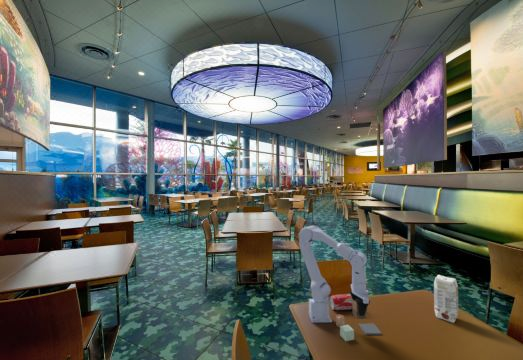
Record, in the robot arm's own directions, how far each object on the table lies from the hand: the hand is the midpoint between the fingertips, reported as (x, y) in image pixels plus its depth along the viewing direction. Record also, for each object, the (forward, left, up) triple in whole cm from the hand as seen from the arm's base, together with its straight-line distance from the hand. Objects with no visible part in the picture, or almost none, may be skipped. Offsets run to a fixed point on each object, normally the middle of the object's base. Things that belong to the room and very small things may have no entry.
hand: (359, 312), depth 104 cm
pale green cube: (-7, -4, -9) cm, 12 cm away
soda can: (+7, +20, -5) cm, 21 cm away
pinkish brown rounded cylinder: (-7, +5, -9) cm, 12 cm away
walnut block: (0, 0, -2) cm, 2 cm away
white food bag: (+46, +10, -9) cm, 48 cm away
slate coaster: (+5, +1, -9) cm, 10 cm away
